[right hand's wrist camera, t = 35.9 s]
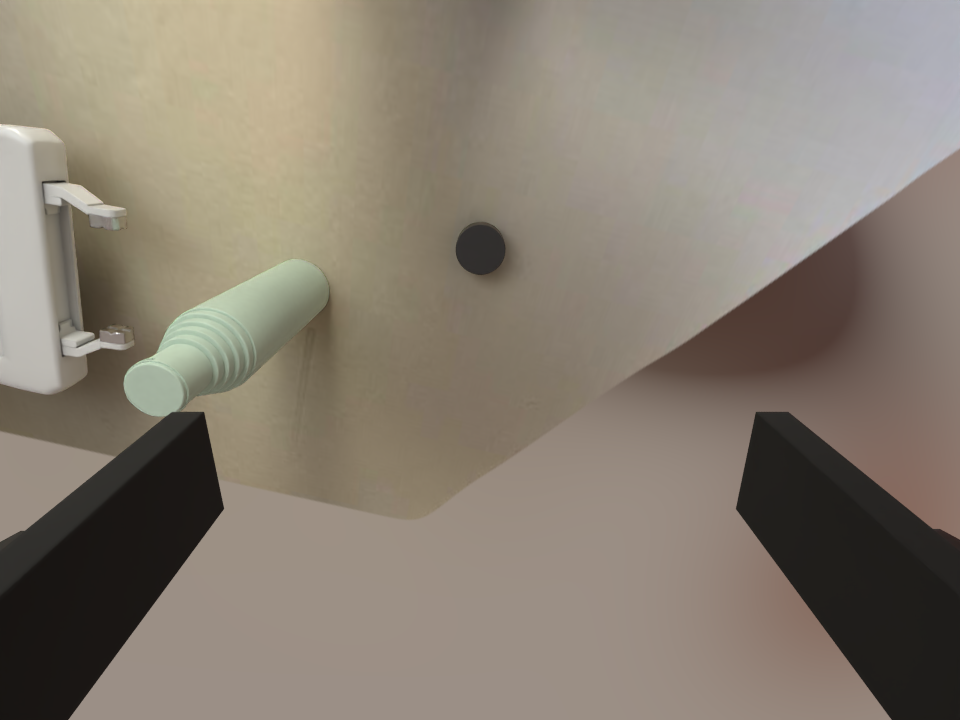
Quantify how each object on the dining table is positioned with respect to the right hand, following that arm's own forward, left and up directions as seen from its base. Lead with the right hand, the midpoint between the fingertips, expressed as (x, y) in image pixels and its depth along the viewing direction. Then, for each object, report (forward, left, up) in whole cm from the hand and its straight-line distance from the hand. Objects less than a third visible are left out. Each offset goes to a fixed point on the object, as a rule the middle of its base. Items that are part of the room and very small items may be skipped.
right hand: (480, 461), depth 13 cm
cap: (0, 0, -33) cm, 33 cm away
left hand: (-17, -21, -29) cm, 40 cm away
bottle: (-8, -14, -35) cm, 39 cm away
